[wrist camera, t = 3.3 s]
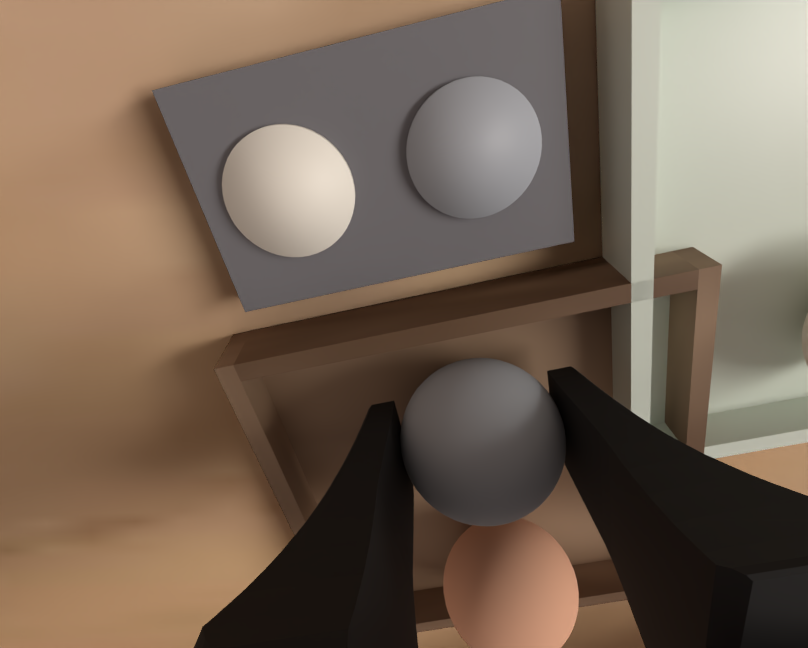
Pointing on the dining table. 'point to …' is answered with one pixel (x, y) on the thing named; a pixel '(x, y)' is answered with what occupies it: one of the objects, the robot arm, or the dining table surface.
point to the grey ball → (483, 442)
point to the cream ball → (805, 339)
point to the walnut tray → (444, 344)
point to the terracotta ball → (510, 587)
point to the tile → (383, 153)
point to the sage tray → (710, 200)
